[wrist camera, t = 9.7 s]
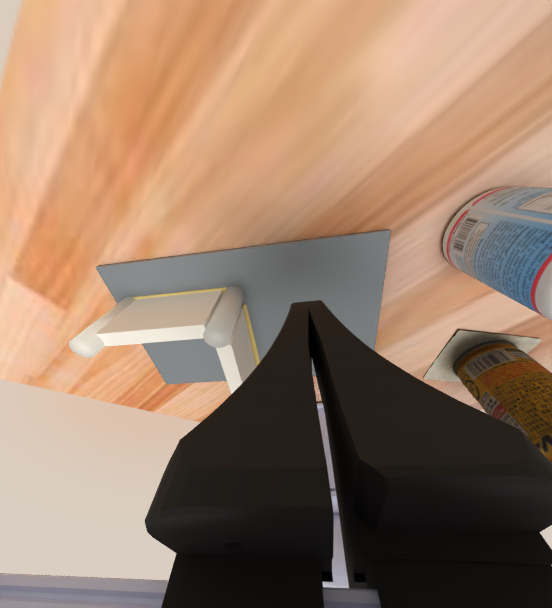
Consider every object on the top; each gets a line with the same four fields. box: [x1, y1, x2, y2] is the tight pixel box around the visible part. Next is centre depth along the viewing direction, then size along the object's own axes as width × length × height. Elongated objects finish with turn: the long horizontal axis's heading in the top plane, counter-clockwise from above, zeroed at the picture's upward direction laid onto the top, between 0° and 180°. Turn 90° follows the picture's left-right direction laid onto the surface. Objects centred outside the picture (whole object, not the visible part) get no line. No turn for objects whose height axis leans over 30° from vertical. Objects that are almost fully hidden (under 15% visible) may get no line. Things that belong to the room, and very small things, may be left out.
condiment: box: [423, 330, 552, 463], centre depth 18 cm, size 7×8×12 cm
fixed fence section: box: [69, 285, 245, 358], centre depth 17 cm, size 12×2×6 cm, turn 98°
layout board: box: [96, 229, 391, 384], centre depth 21 cm, size 16×24×1 cm, turn 98°
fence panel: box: [216, 307, 256, 394], centre depth 20 cm, size 10×2×6 cm, turn 6°
